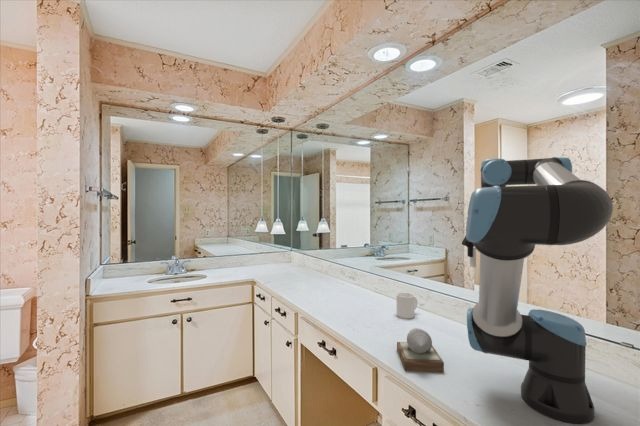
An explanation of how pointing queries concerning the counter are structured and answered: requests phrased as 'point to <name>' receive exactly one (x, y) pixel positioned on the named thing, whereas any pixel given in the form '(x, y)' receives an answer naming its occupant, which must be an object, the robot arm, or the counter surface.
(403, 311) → the mug
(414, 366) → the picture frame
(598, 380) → the counter surface
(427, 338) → the seashell
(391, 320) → the counter surface
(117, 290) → the counter surface
